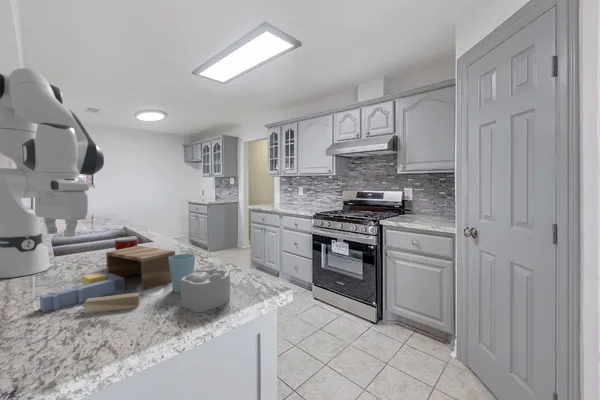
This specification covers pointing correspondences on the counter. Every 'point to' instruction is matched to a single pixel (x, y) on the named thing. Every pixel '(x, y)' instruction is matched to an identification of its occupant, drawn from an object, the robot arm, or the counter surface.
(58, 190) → the robot arm
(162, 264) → the box
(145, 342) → the counter surface
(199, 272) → the lumpy-topped squat cylinder
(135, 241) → the canned food
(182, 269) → the cup
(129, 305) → the beech stick
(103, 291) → the crook
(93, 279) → the ochre block
